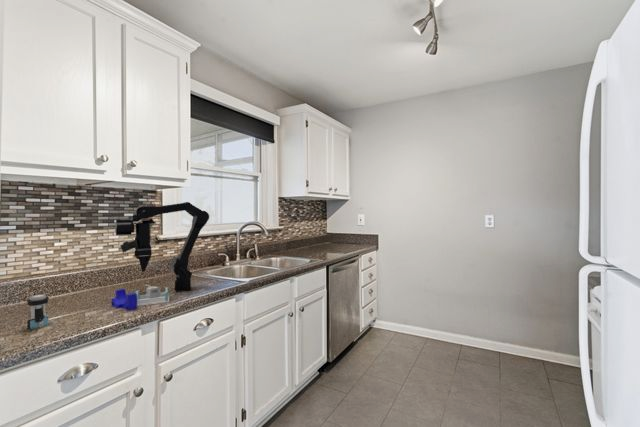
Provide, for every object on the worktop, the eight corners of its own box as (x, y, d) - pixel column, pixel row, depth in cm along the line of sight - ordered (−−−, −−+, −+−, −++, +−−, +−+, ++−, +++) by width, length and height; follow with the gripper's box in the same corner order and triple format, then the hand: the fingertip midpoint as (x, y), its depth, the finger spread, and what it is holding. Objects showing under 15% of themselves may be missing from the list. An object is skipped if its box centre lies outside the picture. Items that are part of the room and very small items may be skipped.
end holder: (169, 296, 136) (169, 286, 136) (169, 302, 127) (169, 292, 127) (135, 299, 131) (135, 290, 131) (132, 306, 122) (132, 296, 122)
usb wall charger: (149, 298, 125) (149, 288, 125) (144, 296, 130) (144, 286, 130) (160, 296, 128) (160, 287, 128) (154, 294, 133) (154, 285, 133)
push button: (47, 321, 106) (47, 292, 106) (57, 323, 104) (57, 293, 104) (23, 328, 100) (23, 297, 100) (33, 330, 98) (32, 299, 98)
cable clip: (111, 306, 123) (111, 291, 123) (123, 303, 127) (123, 288, 126) (124, 312, 116) (123, 296, 116) (136, 308, 119) (136, 293, 119)
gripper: (123, 233, 141) (123, 267, 141) (119, 236, 125) (120, 275, 125) (150, 232, 146) (151, 265, 146) (151, 235, 130) (151, 272, 130)
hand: (143, 269), depth 137 cm, fingers open, 9 cm apart
